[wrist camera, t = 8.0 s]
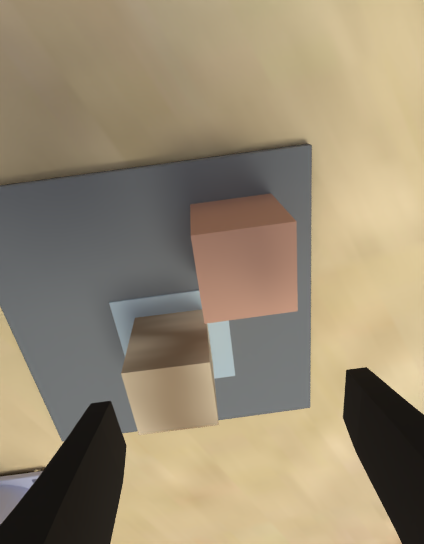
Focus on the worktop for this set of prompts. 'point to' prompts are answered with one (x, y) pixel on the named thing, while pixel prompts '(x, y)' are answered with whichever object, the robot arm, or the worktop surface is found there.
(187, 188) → the mat
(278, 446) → the worktop surface
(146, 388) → the maple block
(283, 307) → the terracotta block
